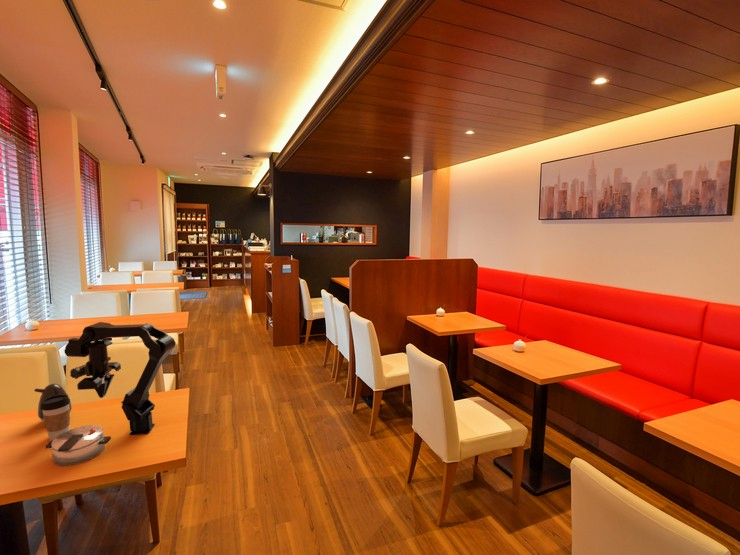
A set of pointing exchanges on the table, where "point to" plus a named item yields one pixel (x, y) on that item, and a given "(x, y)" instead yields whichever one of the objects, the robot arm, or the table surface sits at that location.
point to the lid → (77, 438)
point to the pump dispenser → (47, 392)
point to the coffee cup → (56, 414)
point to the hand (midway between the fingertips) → (102, 396)
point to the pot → (79, 453)
